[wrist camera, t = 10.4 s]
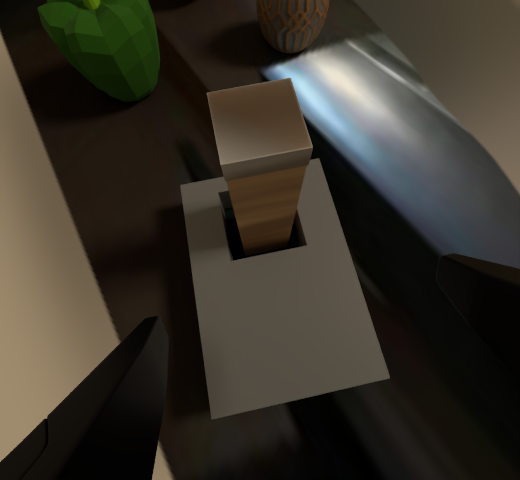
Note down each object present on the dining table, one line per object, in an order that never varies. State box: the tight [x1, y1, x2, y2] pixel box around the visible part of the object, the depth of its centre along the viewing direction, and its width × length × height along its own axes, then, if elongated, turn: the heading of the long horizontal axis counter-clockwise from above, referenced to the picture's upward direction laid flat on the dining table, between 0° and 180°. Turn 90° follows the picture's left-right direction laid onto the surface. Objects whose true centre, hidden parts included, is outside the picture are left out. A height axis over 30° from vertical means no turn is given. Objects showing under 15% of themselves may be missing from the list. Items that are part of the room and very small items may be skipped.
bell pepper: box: [38, 0, 160, 102], centre depth 25 cm, size 8×8×10 cm
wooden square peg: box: [207, 78, 313, 256], centre depth 18 cm, size 4×4×13 cm
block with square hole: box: [180, 159, 390, 419], centre depth 21 cm, size 16×11×3 cm
